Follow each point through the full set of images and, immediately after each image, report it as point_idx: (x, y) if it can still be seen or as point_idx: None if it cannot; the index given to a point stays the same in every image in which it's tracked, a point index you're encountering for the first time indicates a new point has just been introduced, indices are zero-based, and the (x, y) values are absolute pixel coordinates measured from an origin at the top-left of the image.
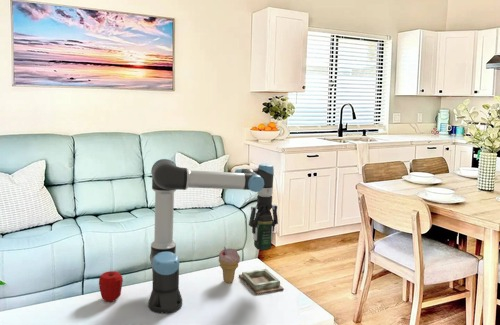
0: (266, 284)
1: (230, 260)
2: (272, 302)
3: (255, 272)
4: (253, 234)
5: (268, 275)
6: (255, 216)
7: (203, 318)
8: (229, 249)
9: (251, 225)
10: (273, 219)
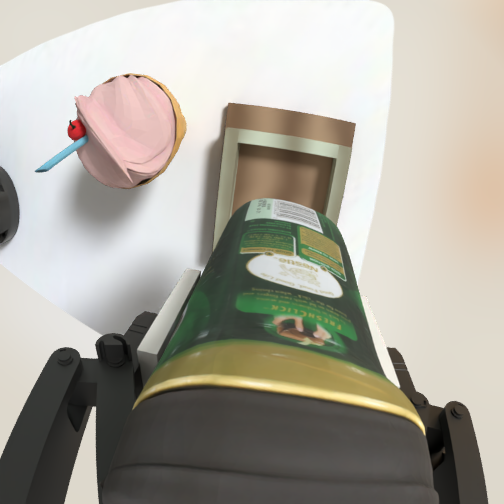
0: None
1: (103, 181)
2: None
3: (288, 149)
4: (173, 289)
5: (328, 195)
6: (120, 438)
7: (50, 295)
8: (92, 133)
9: (73, 403)
10: (450, 443)
